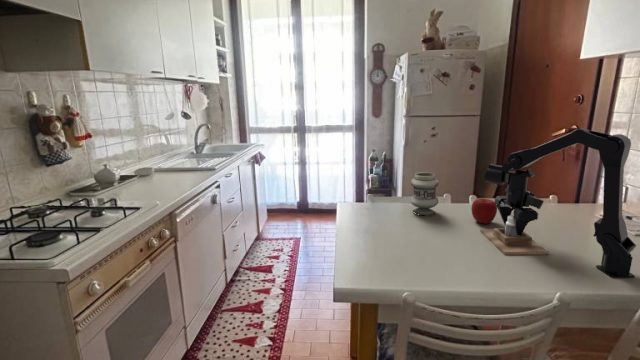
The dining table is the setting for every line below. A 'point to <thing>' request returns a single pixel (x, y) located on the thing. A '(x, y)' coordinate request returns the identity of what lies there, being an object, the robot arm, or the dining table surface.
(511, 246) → the wooden tray with holder
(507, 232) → the pill bottle
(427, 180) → the apothecary jar
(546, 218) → the dining table surface
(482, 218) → the apple
